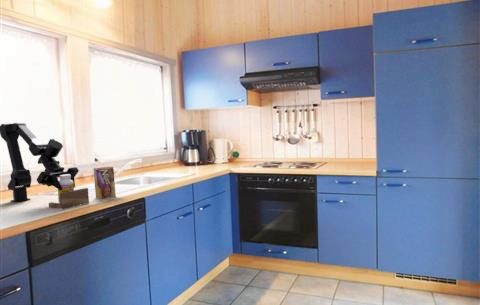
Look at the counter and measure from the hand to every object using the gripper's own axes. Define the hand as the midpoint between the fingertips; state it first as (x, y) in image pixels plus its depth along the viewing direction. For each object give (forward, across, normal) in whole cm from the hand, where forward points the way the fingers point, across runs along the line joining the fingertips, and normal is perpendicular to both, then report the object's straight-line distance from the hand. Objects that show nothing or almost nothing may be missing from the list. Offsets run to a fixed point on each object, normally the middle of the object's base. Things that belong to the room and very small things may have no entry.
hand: (68, 188), depth 168 cm
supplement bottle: (+4, 0, -6) cm, 7 cm away
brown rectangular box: (+5, 0, -6) cm, 8 cm away
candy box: (+7, -20, -4) cm, 22 cm away
